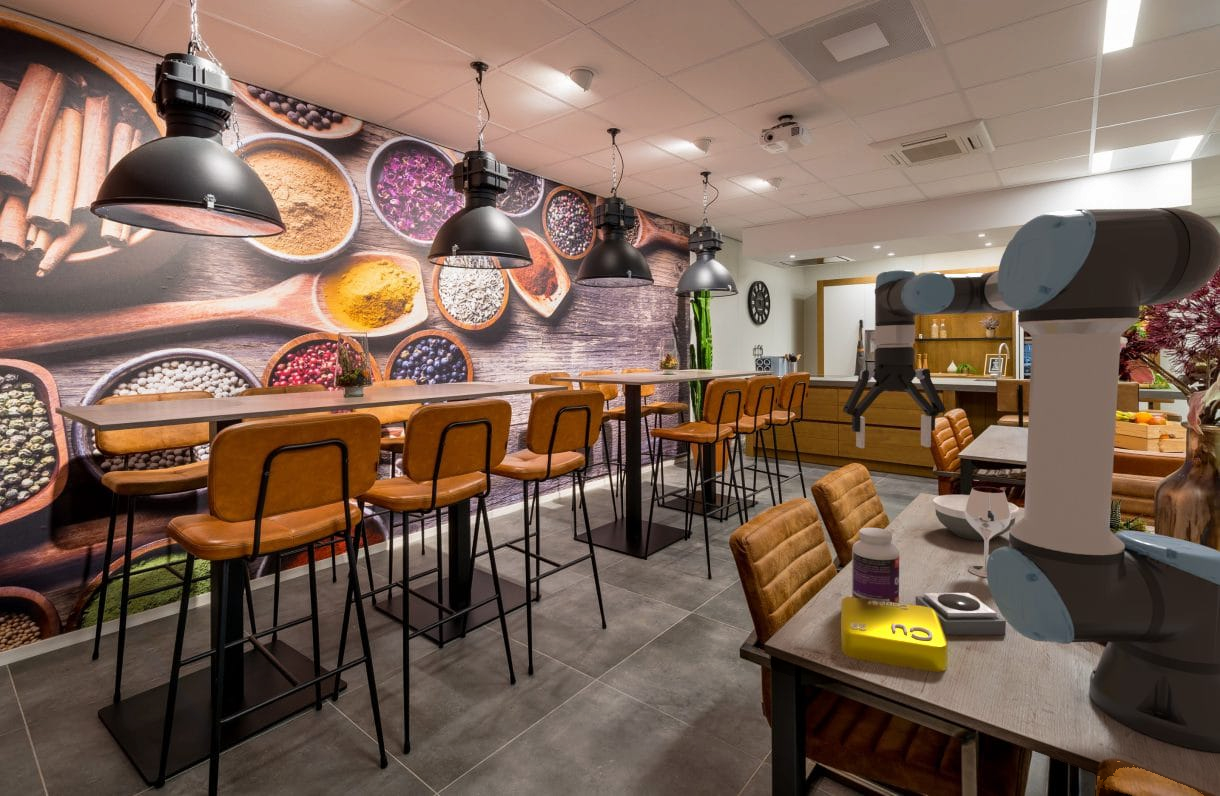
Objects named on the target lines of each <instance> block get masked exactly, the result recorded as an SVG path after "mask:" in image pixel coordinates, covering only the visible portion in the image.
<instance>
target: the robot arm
mask: <svg viewBox="0 0 1220 796" xmlns="http://www.w3.org/2000/svg"><path fill="white" fill-rule="evenodd" d="M1219 268H1220V232H1219V230H1218V229H1217V228H1216V226H1215V225H1214V224H1212V222H1211V221H1209V220H1208V219H1206V218H1205V217H1203V216H1201V215H1200V214H1197V213H1195V212H1193V211H1190V210H1186V209H1179V208H1172V207H1153V208H1108V209H1106V208H1103V209H1102V208H1101V209H1100V208H1099V209H1098V208H1096V209H1092V208H1091V209H1088V208H1087V209H1086V208H1078V209H1073V210H1071V209H1070V210H1066V211H1065V210H1064V211H1055V212H1048V213H1044V214H1040V215H1038V216H1036V217H1034V218H1031V219H1030V220H1029V221H1027V222H1026V223H1025V224H1024V225H1022V226H1021V227H1020V228H1019V229H1018V230H1017V231H1016V232H1015V234H1014V236H1013V238H1012V239H1010V241H1009V242H1008V244H1007V246H1006V247H1005V248H1004V252H1003V253H1002V256H1001V259H1000V262H999V266H998V270H994V271H990V272H982V273H981V272H980V273H953V274H952V273H949V274H948V273H947V274H943V273H941V272H935V271H934V272H933V271H932V272H921V273H918V274H917V275H916V272H915V271H913V270H911V269H909V270H908V269H902V270H901V269H900V270H897V269H896V270H890V271H889V270H888V271H883V272H880V273H879V274H878V275H876V278H875V289H874V296H875V298H874V300H875V301H874V303H875V304H874V306H875V307H874V308H875V309H874V311H875V312H874V314H875V315H874V318H875V319H874V320H875V321H874V345H875V346H877V347H875V349H874V369H873V371H871V370H868V369H867V370H866V369H861V370H859V371H858V375H857V376H858V377H857V381H856V383H855V386H854V387H853V389H852V391H851V393H850V395H849V396H848V399H847V401H846V403H845V405H844V407H843V409H842V412H843V413H844V414H847V415H850V416H851V431H852V432H855V446H856V447H857V448H860V449H865V447H866V445H865V444H866V443H865V442H866V435H865V434H866V417H864V416H862V415H864V413H865V411H866V410H868V409H869V407H870V406H871V405H872V404H873V403H874V401H875V400H876V399H877V398H878V397H879V396H880V394H882V393H883V392H884V391H887V392H893V391H898V392H903V391H904V392H906V393H907V394H908V395H909V396H910V397H911V398H912V400H913V401H914V402H915V404H917V405H918V406H919V408H920V409H921V410H922V411H923V412H924V414H921V415H920V446H922V447H926V448H931V447H932V445H931V444H932V441H931V440H932V432H933V431H935V429H936V417H937V416H939V414H941V413H945V412H946V407H945V406H944V405H945V404H944V403H943V401H942V399H941V397H940V395H939V393H938V391H937V389H936V387H935V385H934V383H933V381H932V378H931V377H932V376H931V370H930V369H929V368H919V369H915V354H916V353H915V352H916V351H915V348H914V347H913V346H912V345H914V344H915V343H916V316H923V315H924V316H926V315H955V314H957V315H958V314H959V315H962V314H1005V313H1012V312H1013V313H1014V312H1017V311H1018V317H1017V318H1018V321H1017V323H1018V324H1017V325H1018V326H1019V327H1021V328H1022V329H1023V330H1024V331H1025V332H1026V333H1028V334H1029V335H1030V337H1031V355H1030V356H1031V358H1030V378H1029V396H1028V397H1029V398H1028V400H1029V401H1028V404H1029V405H1028V423H1027V424H1028V425H1027V426H1028V427H1027V447H1026V466H1025V467H1026V468H1025V469H1026V470H1025V493H1024V510H1023V511H1024V514H1023V517H1022V518H1021V519H1020V520H1019V521H1017V522H1016V523H1014V525H1012V526H1011V527H1010V530H1009V534H1008V535H1009V537H1008V540H1009V541H1008V546H1002V547H999V548H996V549H994V550H993V551H992V552H991V554H990V555H988V561H987V569H986V570H987V578H986V580H987V584H988V588H989V591H990V594H991V597H992V599H993V601H994V603H995V605H996V606H997V609H998V610H999V612H1000V614H1001V616H1002V617H1003V619H1004V620H1005V621H1006V623H1007V624H1009V625H1010V627H1012V629H1014V630H1015V631H1016V632H1017V633H1019V635H1022V636H1023V637H1024V638H1027V639H1029V640H1032V641H1034V642H1047V643H1049V642H1050V643H1058V644H1062V645H1069V644H1071V643H1107V644H1106V646H1105V647H1104V649H1103V651H1102V654H1101V655H1100V656H1101V657H1100V659H1099V662H1098V664H1097V666H1096V667H1095V668H1093V669H1092V672H1091V673H1090V676H1089V691H1088V692H1089V696H1090V699H1091V700H1092V701H1093V702H1094V703H1095V704H1096V706H1097V707H1098V708H1099V709H1101V710H1102V711H1103V712H1105V713H1106V714H1107V715H1108V716H1110V717H1111V718H1113V719H1115V721H1117V722H1120V723H1121V724H1124V725H1125V726H1127V727H1129V728H1131V729H1133V730H1135V731H1138V732H1139V733H1142V734H1144V735H1147V736H1148V737H1151V738H1155V739H1157V740H1161V741H1164V742H1166V743H1170V744H1172V745H1177V746H1180V747H1185V748H1187V749H1193V750H1199V751H1204V752H1213V753H1214V752H1215V753H1220V550H1217V549H1215V548H1211V547H1209V546H1205V545H1203V544H1199V543H1197V542H1192V541H1187V540H1184V539H1181V538H1175V537H1171V536H1167V535H1162V534H1158V533H1151V532H1144V531H1137V530H1128V529H1127V530H1125V529H1123V530H1118V531H1116V532H1115V533H1113V531H1112V530H1111V529H1110V527H1111V526H1110V523H1111V508H1112V495H1113V494H1112V493H1113V492H1112V491H1113V473H1114V456H1115V455H1114V454H1115V443H1116V442H1115V441H1116V440H1115V439H1116V438H1115V437H1116V422H1117V421H1116V420H1117V407H1118V405H1117V404H1118V388H1119V387H1118V386H1119V371H1120V370H1119V369H1120V353H1121V337H1122V335H1123V334H1124V333H1125V332H1126V331H1128V330H1129V329H1130V328H1132V326H1134V325H1135V324H1136V323H1138V322H1139V321H1140V320H1139V319H1140V307H1144V306H1158V305H1162V304H1163V305H1165V304H1168V303H1173V302H1175V301H1176V302H1177V301H1179V300H1182V299H1184V298H1187V297H1189V296H1191V295H1193V294H1194V293H1196V292H1197V291H1199V290H1201V289H1202V288H1203V287H1204V286H1206V285H1207V284H1208V283H1209V282H1210V281H1211V280H1212V279H1213V278H1214V276H1215V275H1216V274H1217V272H1218V270H1219ZM872 378H873V380H874V381H875V383H874V384H873V385H872V386H871V388H870V390H869V391H868V392H867V393H866V394H865V395H864V397H863V398H862V399H861V400H860V398H861V397H862V394H863V393H864V391H865V389H866V387H867V385H868V382H869V381H871V380H872ZM915 378H916V379H917V380H919V382H920V384H921V385H920V386H922V389H923V391H924V393H925V395H926V397H927V399H928V400H927V399H926V398H925V396H924V395H923V394H922V393H921V392H920V391H919V390H918V388H917V386H916V385H915V384H914V383H913V381H914V379H915Z"/></svg>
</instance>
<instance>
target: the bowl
mask: <svg viewBox="0 0 1220 796" xmlns="http://www.w3.org/2000/svg"><path fill="white" fill-rule="evenodd" d="M969 496H970V494H943V495H939V496H938V495H937V496H935V497H934V498H933V499H932V503H933V505H934V508H935V516H936V517H937V519H938V521H939V523H941V524H942V525H943V526H944V527H945V528H947V530H948V531H949V530H950V531H951V532H952V533H953V534H955V535H956V536H958V537H960V538H963V539H969V540H973V541H984V539H983V537H982V536H981V535H980V534H979V533H978V532H977V531H976V530H975V529H974V528H973V527H971V525H970V524H969V523H968V522H967V520H966V518H965V508H966V505H967V502H968V499H969ZM1007 502H1008V506H1009V510H1010V514H1011V521H1010V523H1009V525H1008V526H1007V527H1006V528H1005V529H1004V530H1003V531H1001V532H999V533H998V534H996V535H994V536H993V537H992V538H991V539H990V540H992V539H994V538H996V537H998V536H1001V535H1004V534H1005V533H1006V532H1008V531H1009V532H1010V527H1011V526H1012V525H1014V524H1015V522H1016V517H1017V514H1018V513H1019V511H1020V508H1019V507H1018V506H1017V505H1016V504H1014V503H1012V502H1009V501H1007Z"/></svg>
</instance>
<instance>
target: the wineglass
mask: <svg viewBox="0 0 1220 796" xmlns="http://www.w3.org/2000/svg"><path fill="white" fill-rule="evenodd" d="M969 495H970V496H969V499H968V502H967V505H966V508H965V518H966V520H967V522H968V523H969V524H970V525H971V527H973V528H974V529H975V530H976V531H977V532H978V533H979V534H980V535H981V536H982V537H983V539H984V540H983V541H984V542H983V543H984V544H983V545H984V546H983V565H972V566H969V567H968V572H969V573H971V574H973V575H974V576H978V577H980V578H986V579H987V570H986V569H987V561H988V558H989V546H990V545H989V543H990V540H992V539H991V538H992V537H993V536H994V535H996V534H998V533H999V532H1001V531H1003V530H1004V529H1005V528H1006V527H1007V526H1008V525H1009V523H1010V521H1011V514H1010V510H1009V506H1008V502H1009V501H1008V499H1007V495H1006V492H1005V490H1003V489H1001V488H996V487H991V486H974V487H972V488H971V491H970V493H969Z"/></svg>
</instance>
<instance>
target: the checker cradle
mask: <svg viewBox="0 0 1220 796" xmlns="http://www.w3.org/2000/svg"><path fill="white" fill-rule="evenodd" d="M971 595H972V594H971ZM972 596H974V597H975V598H976V599H978V600H979V601H981V599H980V598H978V597H977V596H976V595H972ZM981 602H982V601H981ZM915 605H918V606H925V607H930V608H932V607H931V606H930V605H929V604H928V603H926V602H925V601H924V595H921V596H920V595H916V596H915ZM932 609H933V610H934V611H935V612H936V613H937V615H938V618H939V621H940V624H941V627H942V629H943V632H944V635H945V636H1006V627H1007V625H1006V624H1007V621H1006V620H1005V618H1002V617H1001V616H1000V615H998V614H997V613H996V619H985V620H946V619H945V618H944V617H943V616H942V615H941V614H939V613H938V612H937V611H936V610H935V609H934V608H932Z"/></svg>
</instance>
